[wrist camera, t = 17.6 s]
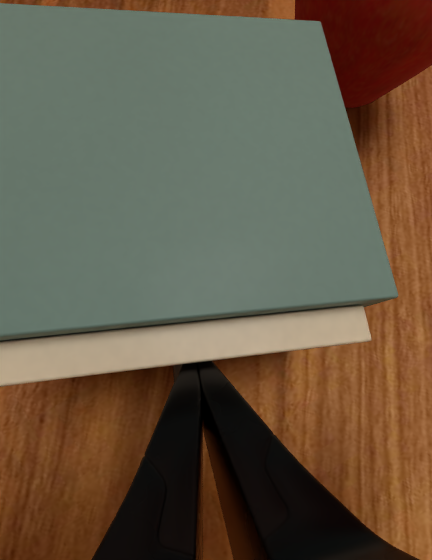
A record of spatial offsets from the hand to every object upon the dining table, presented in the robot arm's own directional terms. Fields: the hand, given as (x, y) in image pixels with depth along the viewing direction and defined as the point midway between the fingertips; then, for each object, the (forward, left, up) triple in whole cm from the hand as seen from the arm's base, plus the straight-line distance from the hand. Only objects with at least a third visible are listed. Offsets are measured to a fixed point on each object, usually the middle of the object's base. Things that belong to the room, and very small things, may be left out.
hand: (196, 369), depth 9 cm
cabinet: (+7, +3, -7) cm, 10 cm away
